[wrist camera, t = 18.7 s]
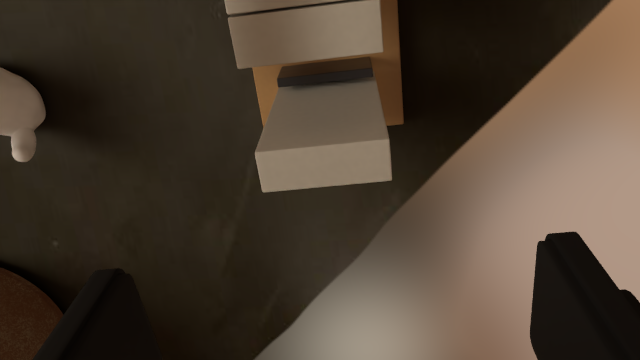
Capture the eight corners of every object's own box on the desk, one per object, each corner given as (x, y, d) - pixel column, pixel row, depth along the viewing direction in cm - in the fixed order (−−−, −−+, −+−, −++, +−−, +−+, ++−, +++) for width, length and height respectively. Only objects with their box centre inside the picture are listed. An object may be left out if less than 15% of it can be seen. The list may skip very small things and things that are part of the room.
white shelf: (388, -138, 29) (419, -177, 18) (402, 119, 37) (431, 210, 25) (221, -113, 30) (148, -135, 19) (267, 133, 37) (234, 228, 26)
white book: (374, 70, 34) (389, 138, 23) (376, 101, 35) (392, 180, 24) (280, 81, 35) (254, 152, 24) (285, 111, 36) (262, 193, 25)
